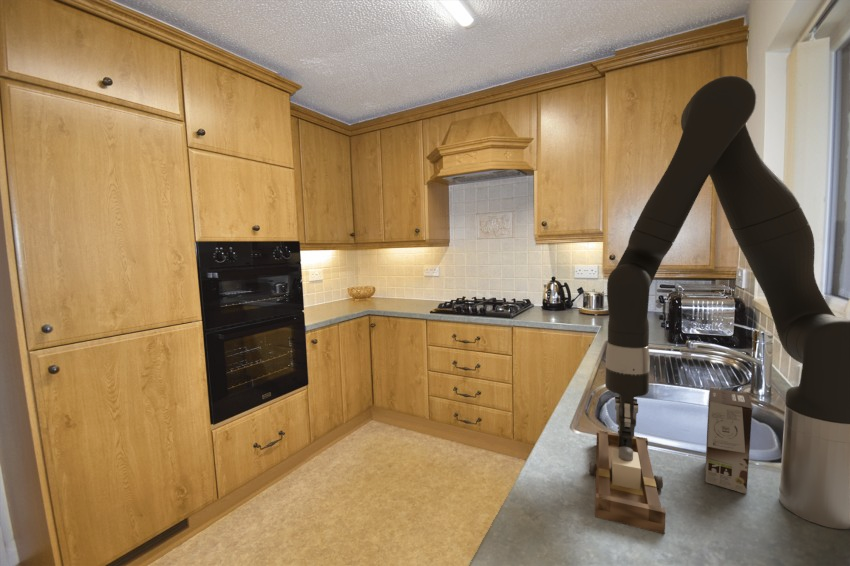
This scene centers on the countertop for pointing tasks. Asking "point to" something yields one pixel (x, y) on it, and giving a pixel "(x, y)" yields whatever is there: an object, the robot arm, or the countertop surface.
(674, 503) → the countertop surface
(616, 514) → the wooden slider track
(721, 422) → the coffee box
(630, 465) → the rider
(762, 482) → the countertop surface
